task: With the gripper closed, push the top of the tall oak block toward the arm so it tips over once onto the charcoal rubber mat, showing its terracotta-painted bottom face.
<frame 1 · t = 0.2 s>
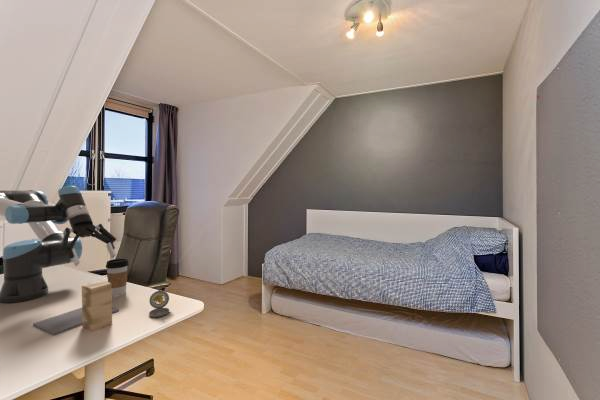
hand: (96, 260, 118), 16 cm above the table, tool tilted 35°, fingers open, 13 cm apart
coffee cup: (117, 294, 123), on the table
rubber mat: (78, 317, 101), on the table
pocket watch: (159, 313, 105), on the table
oak block: (97, 325, 95), on the table
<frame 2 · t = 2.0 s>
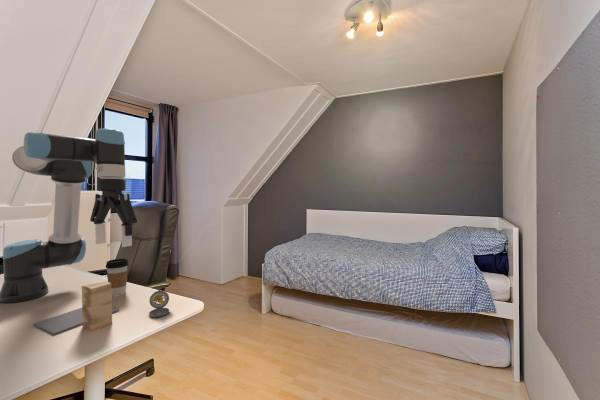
hand: (113, 244, 90), 28 cm above the table, tool pointing down, fingers open, 13 cm apart
nothing on the table moved.
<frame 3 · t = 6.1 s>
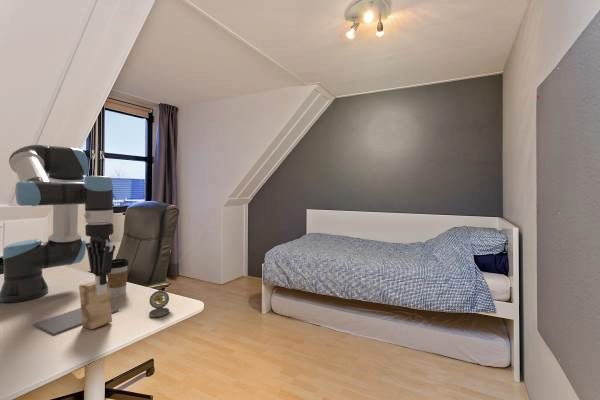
hand: (101, 293, 94), 11 cm above the table, tool pointing down, fingers closed
oak block: (97, 324, 95), on the table, tilted 7°, touching gripper
everything else where it was.
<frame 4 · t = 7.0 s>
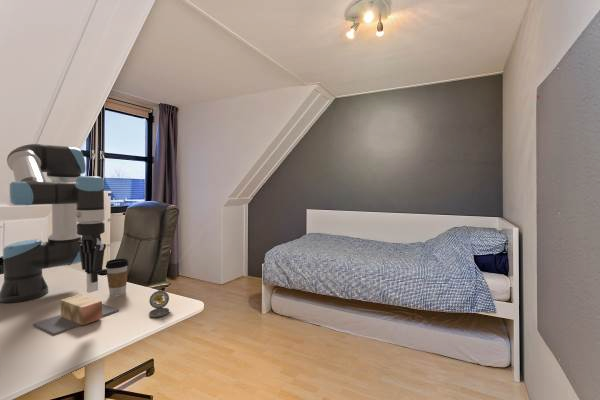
hand: (92, 291, 96), 11 cm above the table, tool pointing down, fingers closed
oak block: (92, 312, 96), point 4 cm above the table, tilted 90°, touching rubber mat
everything else where it was.
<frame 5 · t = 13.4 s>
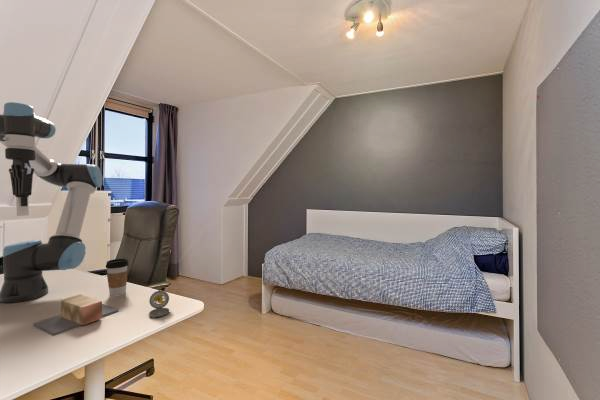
hand: (22, 215, 100), 36 cm above the table, tool pointing down, fingers closed
nothing on the table moved.
at the end: oak block tilted 90°; oak block touching rubber mat; oak block inside the target area (1.1 cm from its centre), point 3.6 cm above the table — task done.
